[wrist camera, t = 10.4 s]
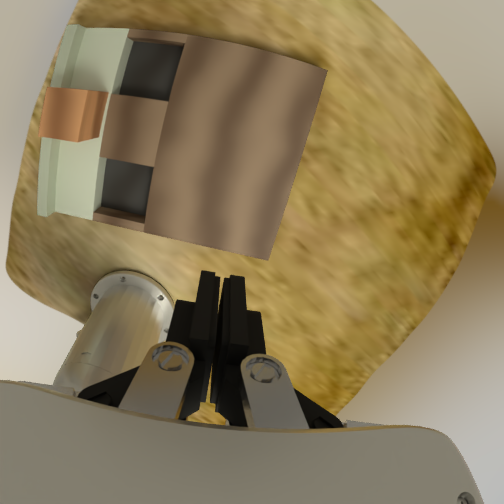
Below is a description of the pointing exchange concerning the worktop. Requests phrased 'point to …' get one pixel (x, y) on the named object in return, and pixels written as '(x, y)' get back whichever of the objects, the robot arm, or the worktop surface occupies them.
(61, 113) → the block
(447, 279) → the worktop surface
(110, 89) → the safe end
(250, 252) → the track
